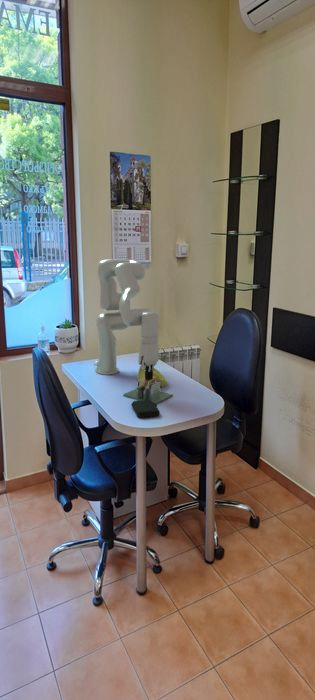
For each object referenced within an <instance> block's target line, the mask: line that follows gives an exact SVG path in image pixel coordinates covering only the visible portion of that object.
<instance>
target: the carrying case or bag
mask: <svg viewBox="0 0 315 700" xmlns="http://www.w3.org/2000/svg"><path fill="white" fill-rule="evenodd" d="M130 406H131V407H132V409H133V411H134V414H135V415H136V416H137V417H138V418H140V419H146V418H157V417H158V416H160V414H161V411H160V409H158V404H155V403H154V402H152V401H151V400H141V401H140V400H134V401H132V402H131V404H130Z"/></svg>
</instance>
